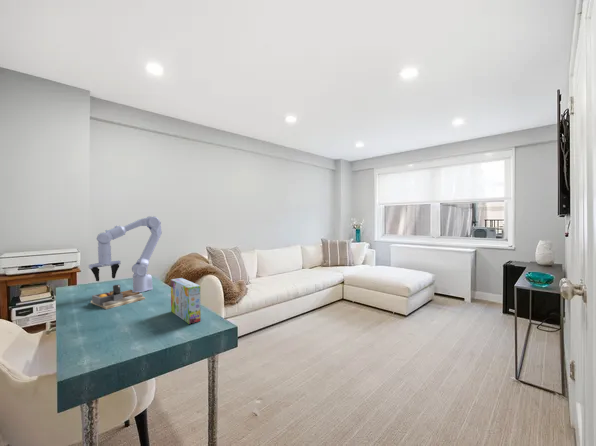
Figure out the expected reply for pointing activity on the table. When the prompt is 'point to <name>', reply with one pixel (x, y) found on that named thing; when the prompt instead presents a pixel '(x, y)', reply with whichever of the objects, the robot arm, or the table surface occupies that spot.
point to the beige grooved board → (127, 298)
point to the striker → (115, 293)
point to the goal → (100, 299)
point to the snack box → (186, 300)
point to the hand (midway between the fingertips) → (105, 279)
